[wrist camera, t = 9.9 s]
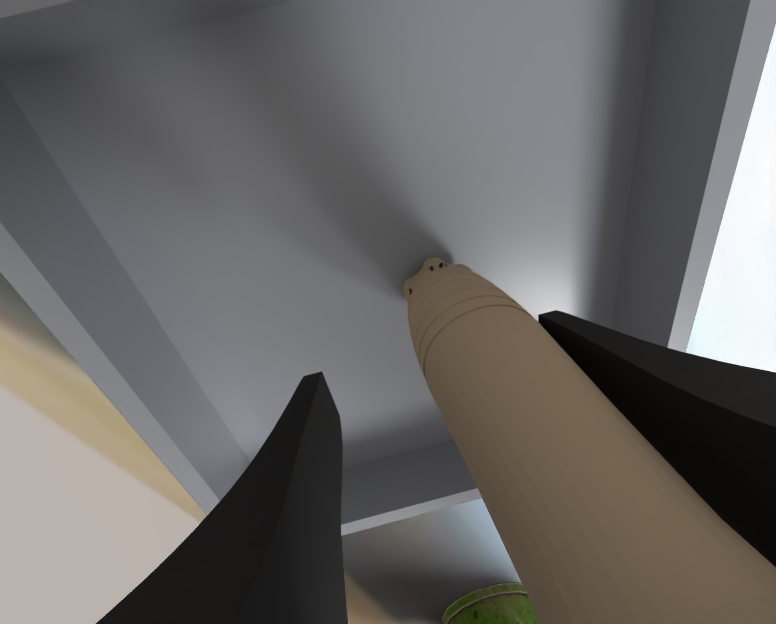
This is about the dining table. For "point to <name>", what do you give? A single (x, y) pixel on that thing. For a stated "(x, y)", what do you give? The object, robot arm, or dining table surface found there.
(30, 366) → the dining table surface
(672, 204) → the bin
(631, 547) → the handle
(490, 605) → the lantern
